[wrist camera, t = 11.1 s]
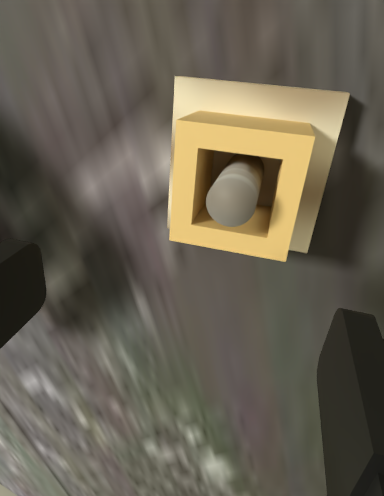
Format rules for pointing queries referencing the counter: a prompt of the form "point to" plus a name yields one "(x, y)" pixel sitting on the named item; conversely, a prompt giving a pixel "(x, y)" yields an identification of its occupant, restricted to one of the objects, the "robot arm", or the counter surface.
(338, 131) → the post stand
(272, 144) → the ring
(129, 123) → the counter surface
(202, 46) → the counter surface
